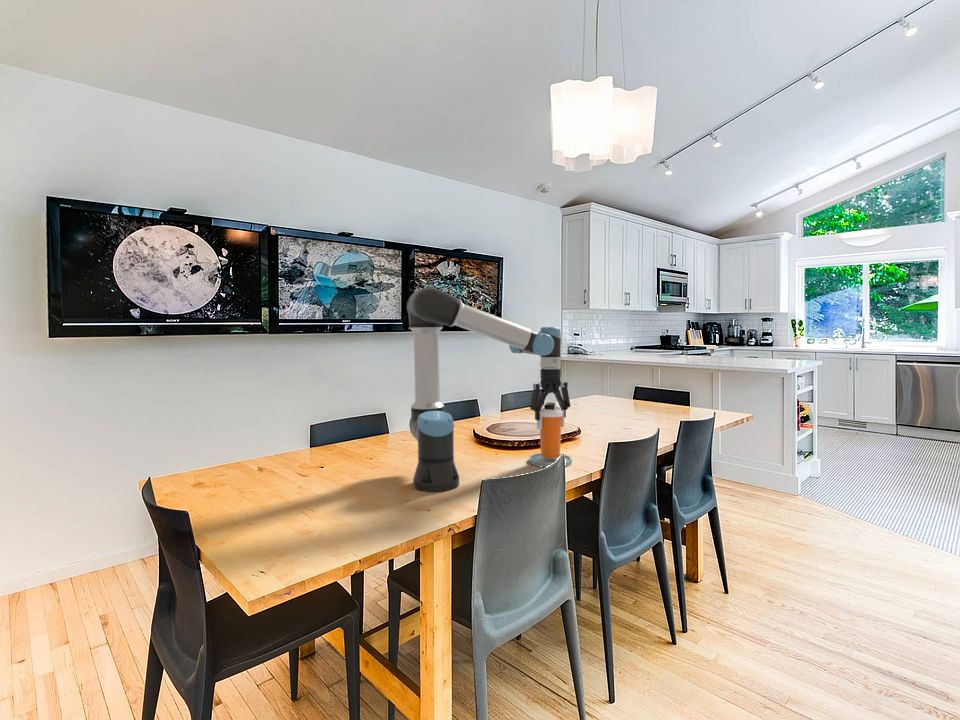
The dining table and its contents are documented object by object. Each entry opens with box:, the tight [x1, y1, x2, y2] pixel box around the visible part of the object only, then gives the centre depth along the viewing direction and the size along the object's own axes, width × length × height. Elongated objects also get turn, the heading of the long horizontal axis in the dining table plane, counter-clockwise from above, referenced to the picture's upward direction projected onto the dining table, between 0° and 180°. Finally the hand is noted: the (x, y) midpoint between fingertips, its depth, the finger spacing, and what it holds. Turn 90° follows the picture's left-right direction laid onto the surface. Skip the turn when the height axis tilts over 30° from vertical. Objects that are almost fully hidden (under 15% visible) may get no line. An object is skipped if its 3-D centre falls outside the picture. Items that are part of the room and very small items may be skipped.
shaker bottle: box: [539, 401, 562, 458], centre depth 193 cm, size 9×9×20 cm
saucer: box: [528, 452, 573, 468], centre depth 194 cm, size 16×16×2 cm
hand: (550, 427), depth 193 cm, fingers closed on shaker bottle, 9 cm apart
